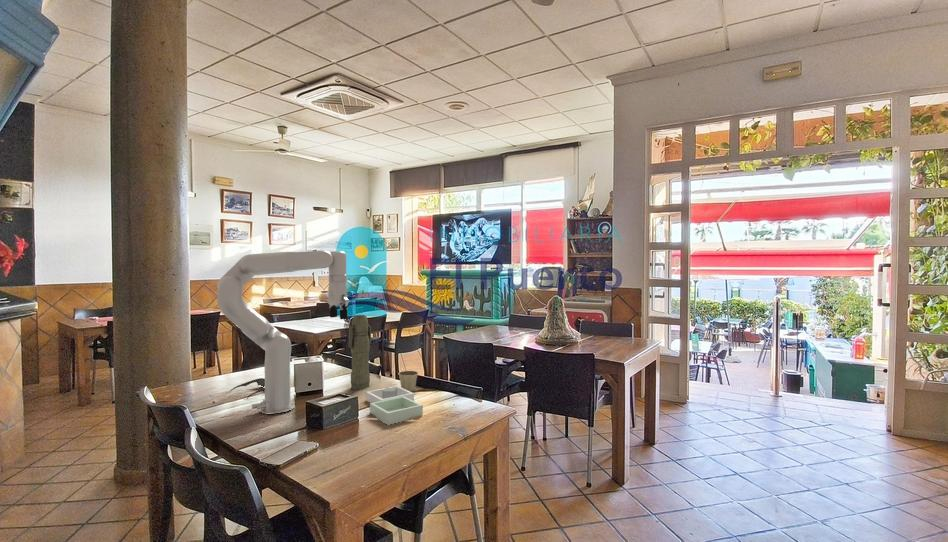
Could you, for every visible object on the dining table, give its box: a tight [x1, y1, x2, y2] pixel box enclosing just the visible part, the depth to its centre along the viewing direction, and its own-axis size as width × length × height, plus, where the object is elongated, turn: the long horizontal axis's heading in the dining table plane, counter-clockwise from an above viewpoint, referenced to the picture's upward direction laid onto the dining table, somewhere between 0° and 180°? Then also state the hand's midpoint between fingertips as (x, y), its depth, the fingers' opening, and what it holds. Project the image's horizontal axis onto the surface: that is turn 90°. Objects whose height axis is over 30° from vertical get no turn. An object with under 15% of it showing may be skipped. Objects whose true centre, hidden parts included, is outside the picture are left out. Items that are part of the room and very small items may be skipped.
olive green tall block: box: [348, 314, 372, 391], centre depth 210 cm, size 9×12×35 cm
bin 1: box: [365, 385, 415, 404], centre depth 186 cm, size 15×15×4 cm
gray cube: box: [382, 387, 397, 399], centre depth 186 cm, size 5×5×5 cm
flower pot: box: [397, 370, 419, 392], centre depth 203 cm, size 9×9×9 cm
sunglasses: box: [229, 377, 265, 398], centre depth 202 cm, size 16×17×5 cm
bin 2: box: [369, 396, 424, 426], centre depth 170 cm, size 15×15×4 cm
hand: (338, 317), depth 191 cm, fingers open, 9 cm apart
